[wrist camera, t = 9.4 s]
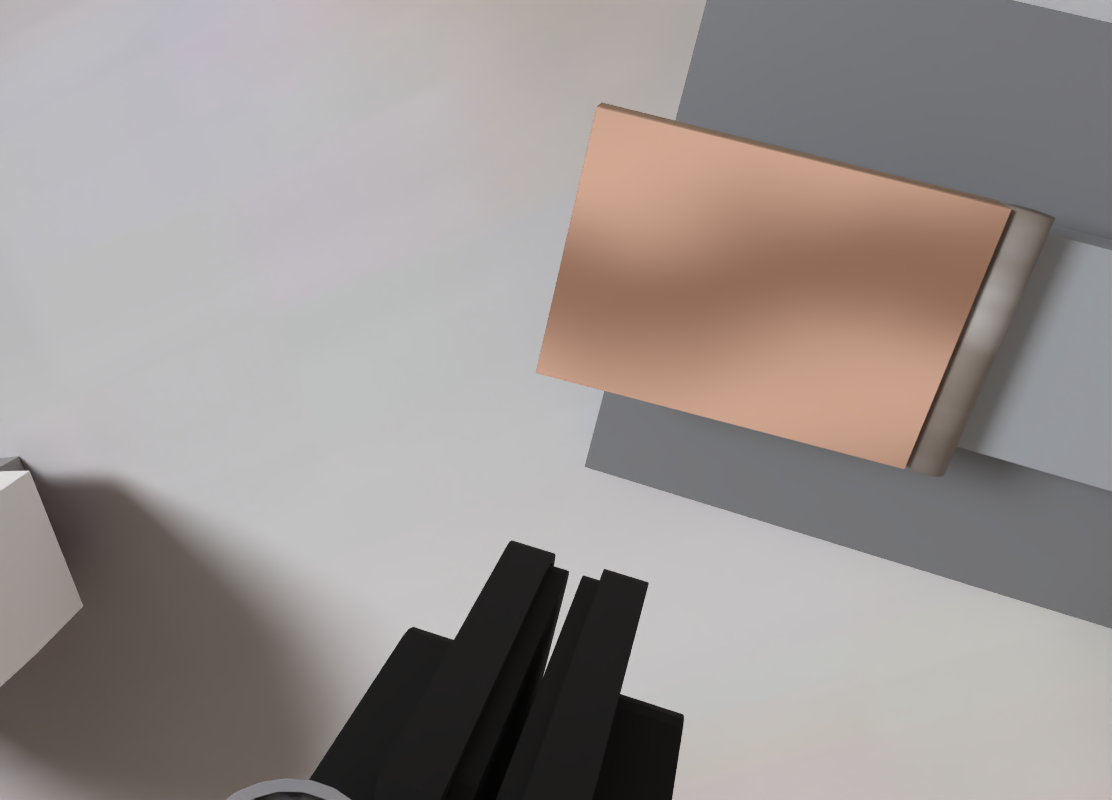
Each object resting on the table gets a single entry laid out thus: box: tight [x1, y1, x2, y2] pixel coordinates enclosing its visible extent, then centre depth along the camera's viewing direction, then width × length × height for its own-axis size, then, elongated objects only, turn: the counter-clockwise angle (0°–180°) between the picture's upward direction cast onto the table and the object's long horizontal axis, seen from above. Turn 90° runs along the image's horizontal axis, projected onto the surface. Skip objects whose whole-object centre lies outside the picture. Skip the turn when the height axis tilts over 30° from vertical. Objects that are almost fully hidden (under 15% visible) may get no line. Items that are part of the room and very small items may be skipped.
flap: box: [536, 103, 1055, 477], centre depth 25 cm, size 7×11×1 cm, turn 78°
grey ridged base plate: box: [585, 0, 1112, 628], centre depth 26 cm, size 16×20×3 cm
